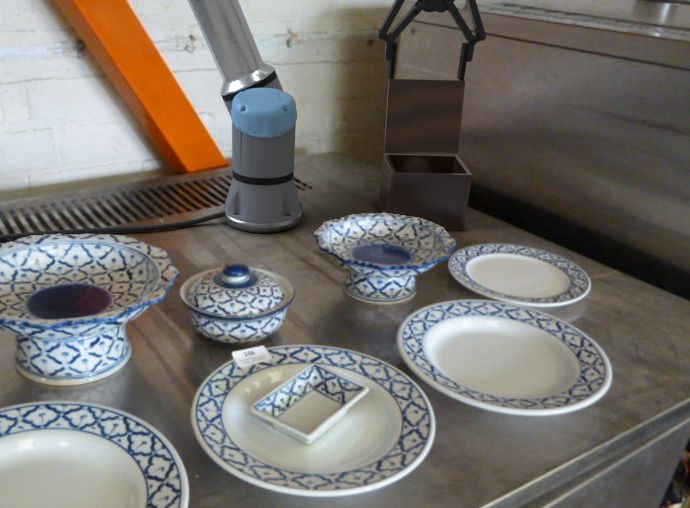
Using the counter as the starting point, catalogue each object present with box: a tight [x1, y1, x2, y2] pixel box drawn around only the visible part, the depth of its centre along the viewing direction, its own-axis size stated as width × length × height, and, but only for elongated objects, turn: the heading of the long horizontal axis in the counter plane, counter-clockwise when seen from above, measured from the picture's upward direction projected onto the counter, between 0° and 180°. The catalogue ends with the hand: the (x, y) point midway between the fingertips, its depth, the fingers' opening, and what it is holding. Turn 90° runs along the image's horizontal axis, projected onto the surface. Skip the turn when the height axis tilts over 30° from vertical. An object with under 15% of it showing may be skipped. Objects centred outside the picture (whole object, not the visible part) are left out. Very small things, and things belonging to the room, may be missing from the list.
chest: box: [377, 152, 473, 231], centre depth 128 cm, size 13×15×11 cm
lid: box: [383, 78, 466, 154], centre depth 131 cm, size 14×15×5 cm
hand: (425, 79), depth 129 cm, fingers open, 13 cm apart
